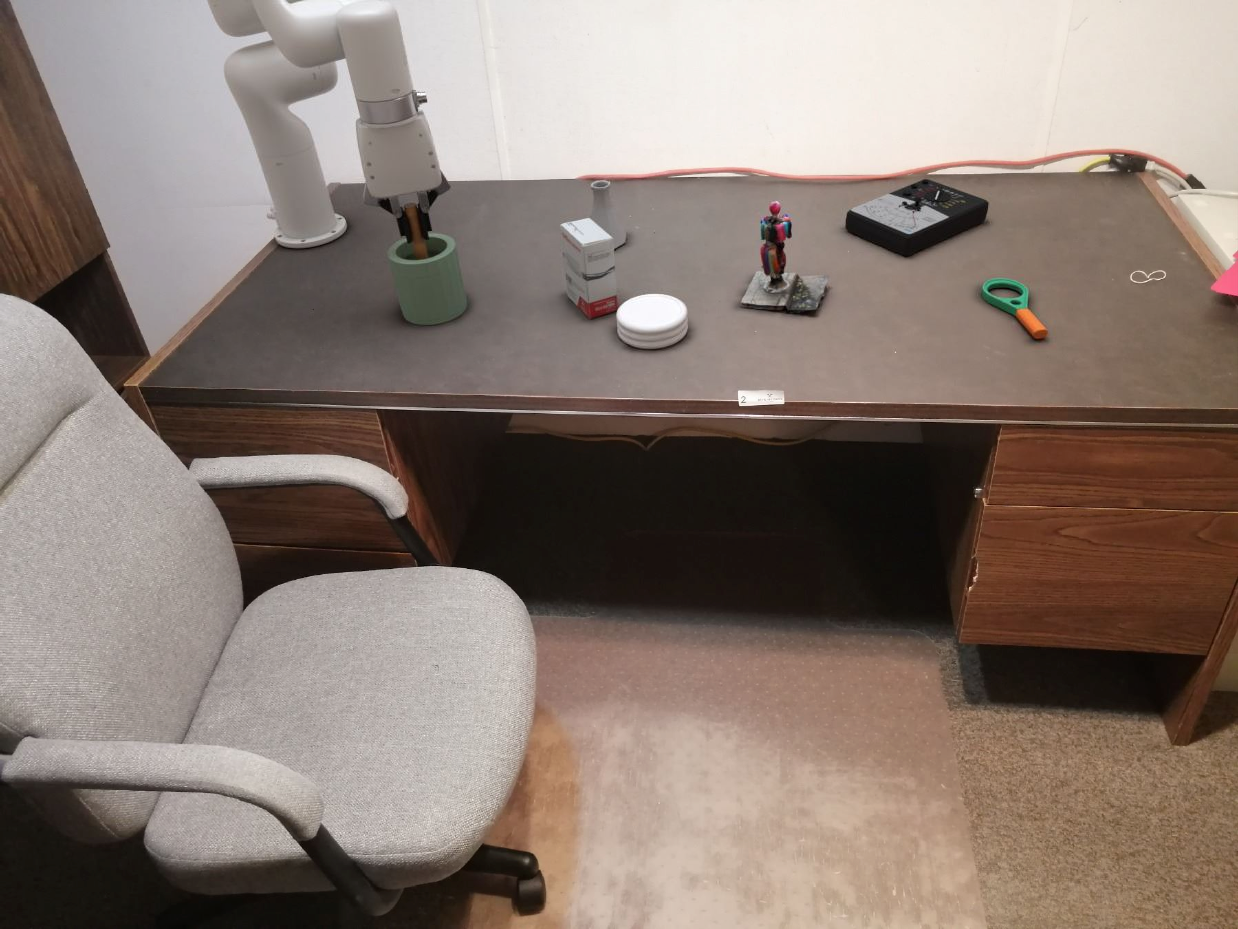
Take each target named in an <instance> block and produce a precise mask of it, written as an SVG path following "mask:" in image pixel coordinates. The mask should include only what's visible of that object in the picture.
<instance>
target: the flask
mask: <svg viewBox="0 0 1238 929" xmlns="http://www.w3.org/2000/svg"><path fill="white" fill-rule="evenodd" d="M610 188H611V181H609V180H605V179H604V180H595V181H593V182H591V184H590V189H591V191H592V194H593V195H592V197H593V200H592V210H591V215H590V217H589V218H590V219H591V220H592V221H593V222H595V223H596V224H597V225H598V226H599V227H601V228H602V229H603V230H604V231H605V232H606V233H608V234H609V235H610V236H611V237H612V238H613V243H614V250H615V249H617V248H618V247H620V246H622V245H623V244H625V243H626V240H627V233H626V230H625V229H624V227H623V225H622V222H621V221H620V219H619V217H618V214H617V212H616V210H615V207H614V205H613V201H612V198H611V194H610Z"/></svg>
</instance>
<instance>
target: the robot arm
mask: <svg viewBox="0 0 1238 929" xmlns="http://www.w3.org/2000/svg"><path fill="white" fill-rule="evenodd" d="M206 1H207V4H208V6H209V9H210V11H211V14H212V17H213V19H214V20H215V23H216V24H217V26H218V28H219V29H220V30H221V32H222V33H224V34H226V35H227V36H230V37H233V38H241V37H248V36H253V35H258V34H262V33H266V32H267V33H268V35H269V36H270V38H271V39H270V40H266V41H262V42H259V43H255V44H251V45H246V46H244V47H241V48H238V49H237V50H235V51H233V52H232V53H230V54H229V56H227V58H225V59H226V60H225V61H224V64H223V74H224V79H225V82H226V84H227V87H228V89H229V91H230V93H231V94H232V97H233V99H234V100H235V103H236V104H237V107H238V109H239V111H240V112H241V115H242V118H243V120H244V122H245V125H246V128H247V130H248V132H249V135H250V137H251V141H252V143H253V144H252V145H253V148H254V149H255V150H254V151H255V152H256V156H257V159H258V162H259V165H260V167H261V168H260V169H261V170H262V171H261V172H262V173H263V174H262V175H263V176H264V180H265V183H266V186H267V188H268V192H269V195H270V198H271V201H272V204H270V207H269V208H270V210H268V211H267V212H266V214H265V215H266V218H267V219H269V220H274V221H275V222H276V225H277V228H275V230H274V233H273V234H274V235H273V236H274V239H275V242H276V243H277V244H278V245H279V246H282V247H284V248H289V249H307V248H314V247H318V246H321V245H325V244H328V243H330V242H333V241H335V240H336V239H338V238H339V237H341V236H342V235H344V233H345V232H346V231H347V228H348V224H347V221H346V219H345V217H344V216H342V215H341V214H338V213H335V210H334V206H333V204H332V200H331V197H330V192H329V190H328V186H327V182H326V180H325V176H324V172H323V168H322V165H321V161H320V158H319V155H318V151H317V148H316V144H315V141H314V137H313V134H312V132H311V129H310V128H309V126H308V124H307V123H306V122H305V121H304V120H303V119H301V118H300V117H299V116H297V115H296V114H294V113H293V112H292V111H291V110H290V109H289V107H290V106H291V105H293V104H296V103H298V102H302V101H305V100H308V99H312V98H315V97H319V96H322V95H325V94H327V93H330V92H331V91H332V90H334V89H335V88H336V86H337V85H338V81H339V80H338V79H339V71H338V65H337V62H338V61H342V60H345V62H346V65H347V70H348V74H349V77H350V82H351V87H352V90H353V95H354V98H355V102H356V106H357V110H358V113H359V114H358V115H359V118H357V119H356V120H355V134H356V141H357V148H358V153H359V157H360V158H359V159H360V163H361V167H362V168H361V169H362V172H363V177H364V180H365V181H364V188H363V195H362V201H363V203H364V205H366V206H371V207H376V208H382V209H383V210H385V211H386V212H388V213H389V214H391V215H393V217H394V218H395V219H396V223H397V227H398V232H399V235H400V237H401V238H403V237H405V238H406V240H407V243H408V244H409V243H411V242H412V238H411V234H410V229H409V225H408V221H407V217H406V214H405V210H404V206H401V203H400V199H399V197H400V196H405V195H411V194H415V193H416V196H417V201H418V203H416V205H417V209H418V215H419V219H420V224H421V228H422V233H423V237H424V240H425V239H426V240H429V235H428V233H429V232H433V227H432V223H431V218H430V214H429V213H430V210H431V207H432V205H434V203H435V201H436V200H437V199H438V197H439V196H441V195H443V194H444V193H446V192H448V191H450V190H451V184H450V182H449V180H448V178H447V177H446V176H445V174H444V172H443V171H442V169H441V166H440V162H439V157H438V153H437V150H436V146H435V143H434V142H435V141H434V139H433V135H432V131H431V129H430V125H429V123H428V120H427V117H426V115H425V112H424V110H423V109H421V108H420V106H421V105H423V104H427V103H428V98H427V94H426V91H417V90H416V89H414V85H413V81H412V74H411V70H410V66H409V65H410V64H409V61H408V56H407V51H406V45H405V41H404V36H403V32H402V27H401V21H400V17H399V13H398V11H397V9H396V8H395V6H394V5H393V4H392V3H390V2H389V1H386V0H206Z"/></svg>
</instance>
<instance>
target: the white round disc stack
mask: <svg viewBox="0 0 1238 929" xmlns="http://www.w3.org/2000/svg"><path fill="white" fill-rule="evenodd" d="M688 314H689V313H688V308H687V306H686V304H685V303H684V302H683V301H682V300H680V299H679V298H676V297H675V296H672V295H668V294H662V293H648V294H642V295H638V296H634V297H631V298H629V299H627V300H626V301H624V302H623V303H621V305H620V306H619V307H618V310H617V311H616V315H615V318H616V327H617V328H616V331H617V334H618V337H619V339H620V340H621V341H622V342H624V343H625V344H627V345H629V346H631V347H634V348H638V349H644V350H656V349H663V348H666V347H670V346H673V345H675V344H676V343H678V342H679V341H681V340H682V339H683V338H685V336H686V334H687V332H688V329H689V325H688V324H689V323H688V322H689V318H688Z"/></svg>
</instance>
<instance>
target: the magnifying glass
mask: <svg viewBox="0 0 1238 929" xmlns="http://www.w3.org/2000/svg"><path fill="white" fill-rule="evenodd" d="M981 287H982V288H981V297H982V299H983V300H984V301H985V302H987V303H988V304H990V305H992V306H994V307H996V308H999V309H1001V310H1002V311H1005V312H1006V313H1009V314H1010V315H1013V316H1014V317H1015V318H1016V319H1018V321H1019V322H1020V323H1021V324H1022V326H1024V328H1025V329H1026V330H1027V331H1028V332H1029V334H1031V335H1032V337H1033V338H1034V339H1044V338H1046V337H1047V336H1048V334H1049V330H1048V329H1047V328H1046V326H1044V325H1043V324H1042V322H1041V321H1040V320H1039V319H1038V318H1037V316H1035V315H1034V313H1033V312H1031V310H1030V309H1029V307H1028V303H1029V302H1028V301H1029V294H1030V293H1029V288H1028V287H1026V285H1025V284H1023V283H1021V282H1020V281H1018V280H1014V279H1011V278H1003V277H1001V278H998V277H997V278H991V279H988V280H986V281H985V282H984V283H983V284H982V286H981ZM996 288H1005V289H1006V288H1007V289H1011V290H1015V291H1017V292H1019V293H1020V296H1018V297H1011V298H1009V297H1008V298H1007V297H1001V296H1000V297H999V296H996V295H994V294H991V293H990V292H989V291H990V290H992V289H996Z"/></svg>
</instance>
